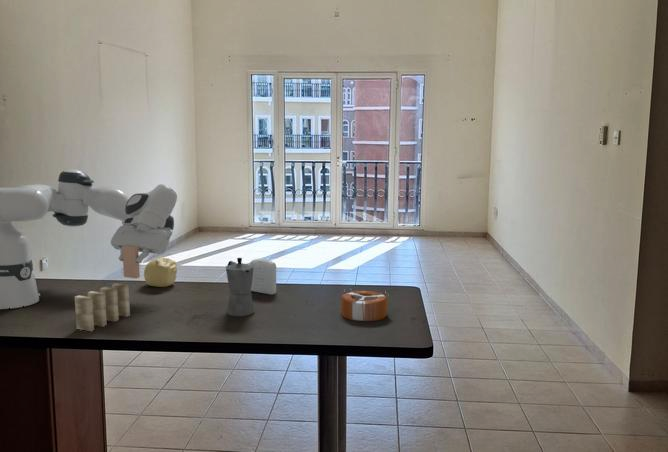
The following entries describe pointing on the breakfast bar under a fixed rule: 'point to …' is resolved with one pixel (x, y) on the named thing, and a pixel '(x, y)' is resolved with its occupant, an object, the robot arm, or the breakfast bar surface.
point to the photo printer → (264, 276)
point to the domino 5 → (130, 261)
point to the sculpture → (160, 272)
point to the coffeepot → (240, 288)
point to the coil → (364, 305)
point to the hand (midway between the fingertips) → (129, 261)
